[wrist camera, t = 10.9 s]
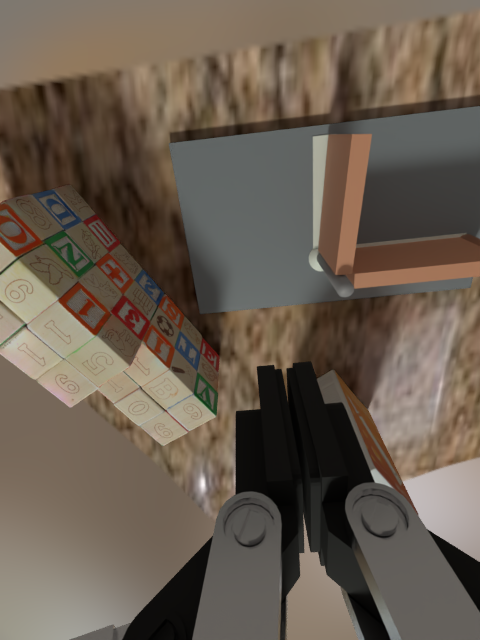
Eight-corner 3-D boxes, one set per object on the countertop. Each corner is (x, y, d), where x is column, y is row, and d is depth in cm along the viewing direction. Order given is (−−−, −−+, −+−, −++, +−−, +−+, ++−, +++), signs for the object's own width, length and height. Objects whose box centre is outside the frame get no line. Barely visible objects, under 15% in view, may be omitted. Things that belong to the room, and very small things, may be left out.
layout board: (508, 102, 26) (514, 101, 25) (466, 285, 33) (470, 287, 32) (170, 143, 27) (168, 143, 26) (200, 311, 34) (199, 314, 33)
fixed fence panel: (475, 233, 30) (539, 259, 24) (471, 250, 31) (532, 280, 24) (334, 247, 30) (360, 277, 24) (334, 264, 31) (358, 297, 25)
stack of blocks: (222, 355, 37) (215, 447, 26) (177, 381, 38) (154, 478, 28) (69, 181, 28) (-35, 210, 18) (20, 225, 30) (-102, 276, 19)
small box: (369, 409, 41) (421, 517, 29) (323, 433, 42) (355, 544, 31) (333, 366, 37) (376, 468, 26) (286, 394, 39) (306, 501, 28)
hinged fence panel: (329, 264, 31) (352, 297, 25) (316, 264, 31) (336, 297, 25) (343, 134, 26) (377, 133, 20) (327, 134, 26) (356, 134, 20)
